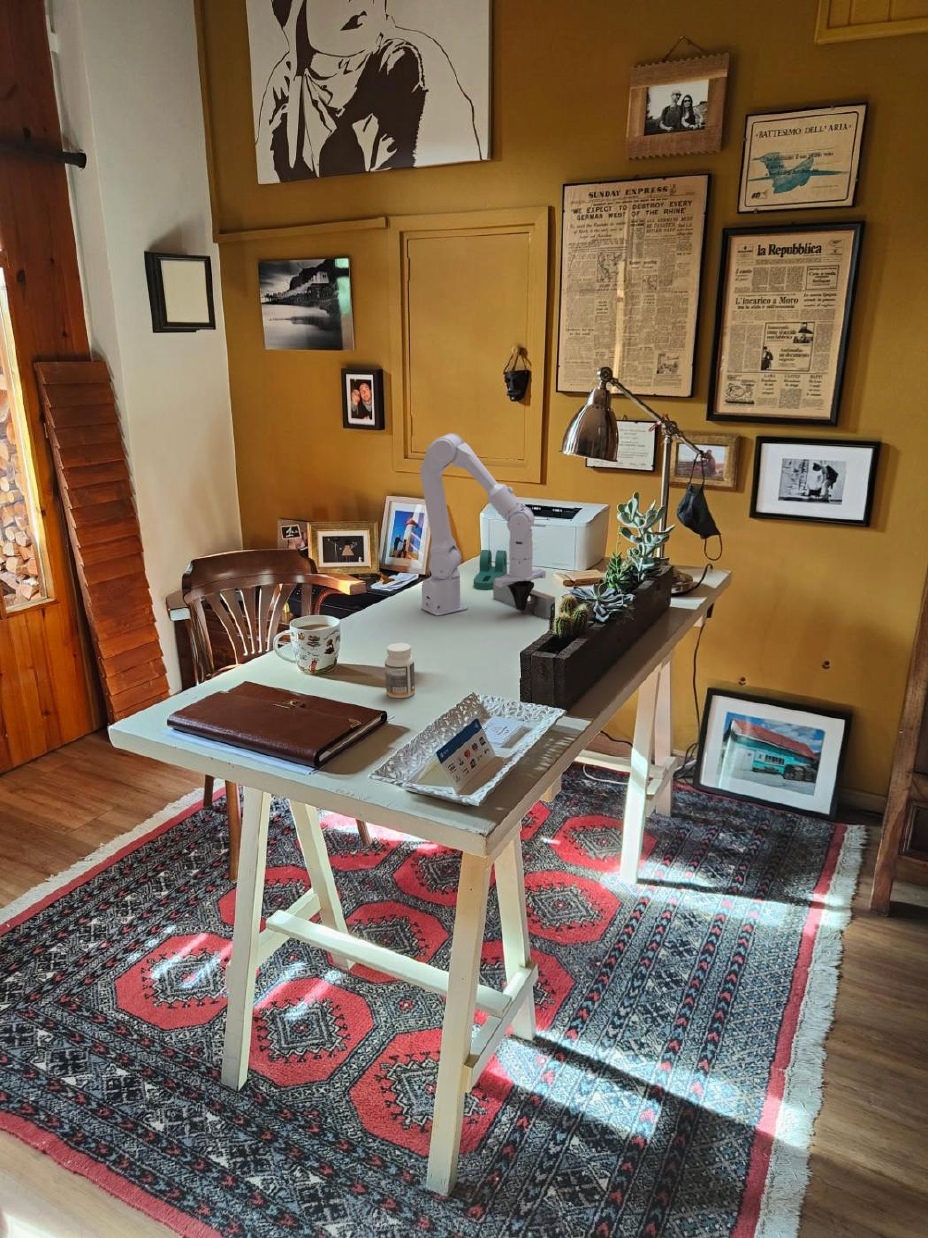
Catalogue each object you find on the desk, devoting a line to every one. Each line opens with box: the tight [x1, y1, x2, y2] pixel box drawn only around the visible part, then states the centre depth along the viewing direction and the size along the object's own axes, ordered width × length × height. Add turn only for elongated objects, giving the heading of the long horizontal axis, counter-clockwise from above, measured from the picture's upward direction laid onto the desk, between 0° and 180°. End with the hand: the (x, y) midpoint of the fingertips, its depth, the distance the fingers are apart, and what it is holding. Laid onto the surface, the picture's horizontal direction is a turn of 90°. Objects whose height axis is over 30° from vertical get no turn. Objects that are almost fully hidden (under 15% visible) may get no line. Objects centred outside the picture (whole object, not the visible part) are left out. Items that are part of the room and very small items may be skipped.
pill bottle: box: [384, 642, 416, 699], centre depth 175 cm, size 6×6×10 cm
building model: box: [492, 579, 554, 620], centre depth 228 cm, size 2×22×5 cm, turn 35°
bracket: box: [473, 549, 508, 591], centre depth 252 cm, size 18×7×8 cm, turn 167°
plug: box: [520, 592, 556, 614], centre depth 227 cm, size 8×4×3 cm, turn 124°
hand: (520, 609), depth 224 cm, fingers closed
